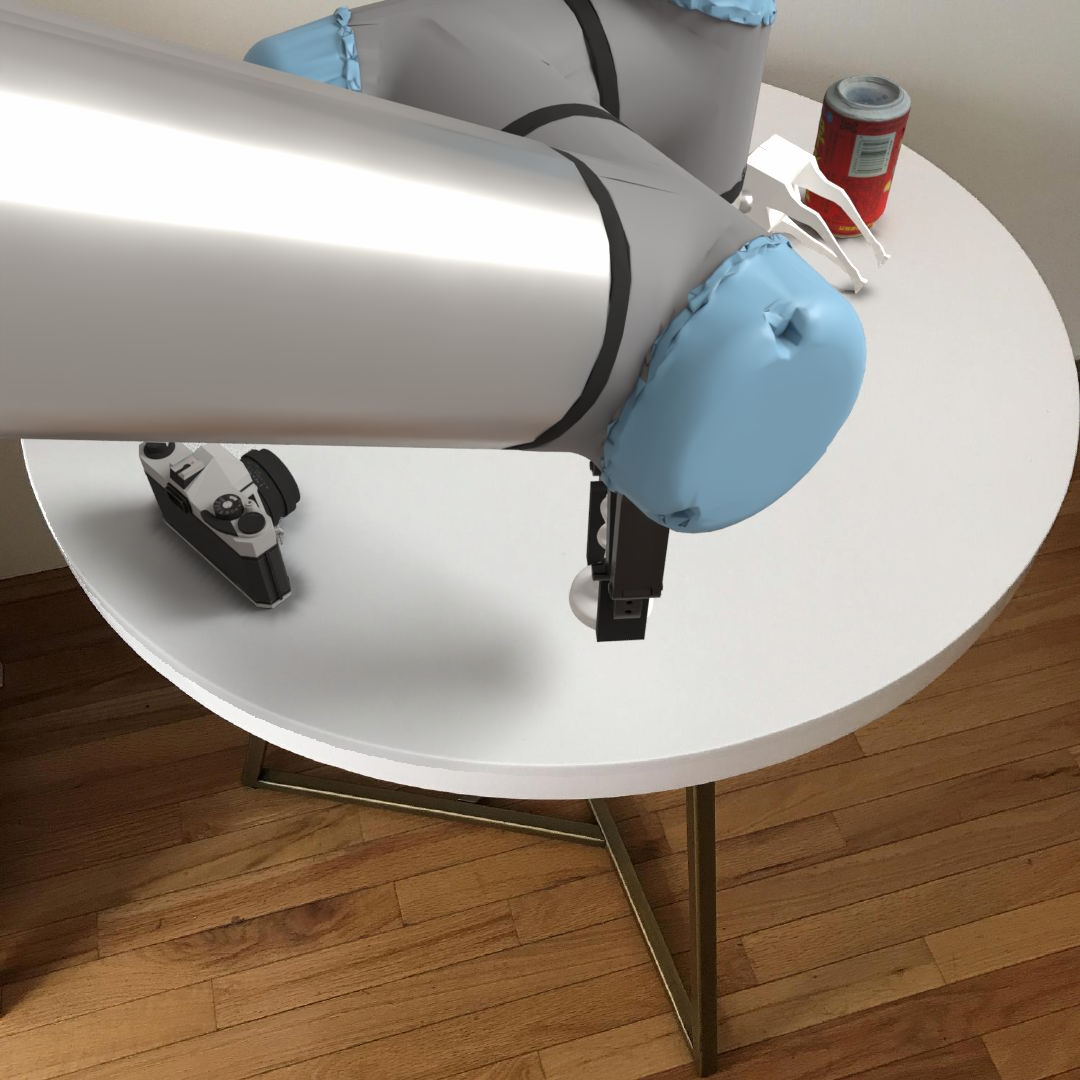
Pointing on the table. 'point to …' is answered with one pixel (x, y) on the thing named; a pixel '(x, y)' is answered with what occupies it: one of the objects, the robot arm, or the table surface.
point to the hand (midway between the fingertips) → (614, 596)
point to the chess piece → (590, 585)
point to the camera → (227, 510)
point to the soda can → (859, 148)
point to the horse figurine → (777, 196)
